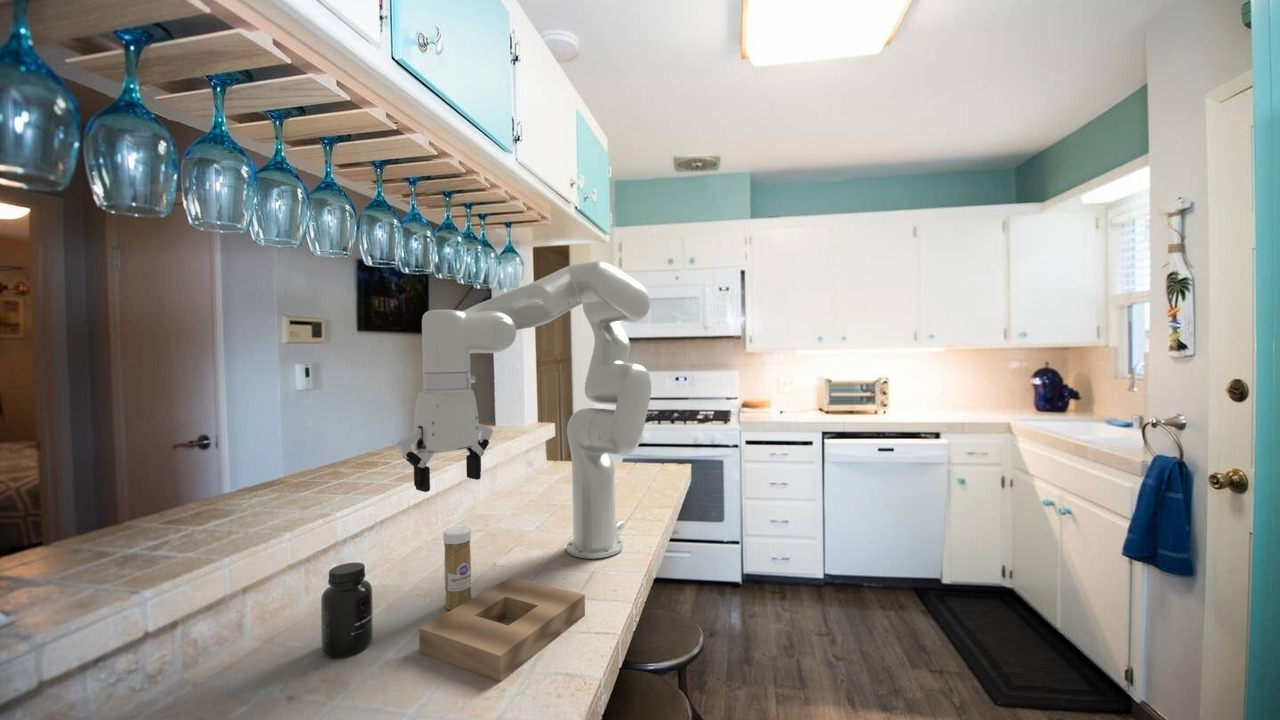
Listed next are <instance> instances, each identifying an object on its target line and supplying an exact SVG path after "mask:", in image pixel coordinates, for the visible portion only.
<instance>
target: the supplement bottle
mask: <svg viewBox="0 0 1280 720" xmlns="http://www.w3.org/2000/svg"><path fill="white" fill-rule="evenodd" d="M365 571H366V570H365V564H364V563H362V562H348V563H341V564H339V565H336V566H334V567H331V569H329V571H328V580H327V584H328V585H329V586H328V587H326V588H325V590H324V591H323V593H322V594H321V599H320V600H321V601H320V610H321V611H320V612H321V617H320V618H321V619H320V620H321V622H320V623H321V627H320V628H321V631H320V633H321V651H322V654H323V655H324V656H326V657H328V658H332V659H339V658H346V657H351V656H353V655H356V654H358V653H360V652H362V651H364V650H365V649H367V648H368V647H369V646H370V645H371V643H372V642H373V634H374V633H373V632H374V631H373V630H374V629H373V626H374V625H373V623H374V621H373V619H374V617H373V614H374V613H373V585H372V584H371V582H369V581H368V580H366V579H365V578H366V572H365Z"/></svg>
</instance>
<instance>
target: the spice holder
mask: <svg viewBox="0 0 1280 720" xmlns="http://www.w3.org/2000/svg"><path fill="white" fill-rule="evenodd" d="M585 595H586V594H584V593H580V592H576V591H573V590H572V591H571V590H567V589H564V588H560V587H556V586H552V585H547V584H543V583H539V582H535V581H531V580H527V579H524V578H518V577H514V576H510V577H508V578H507V579H505V580H503V581H502V582H499V583H498V584H496V585H494V586H492V587H491V588H489V589H487V590H485V591H484V592H482V593H480V594H478V595H476V596H475V597H473V598H471V600H469V601H467V602H465V603H464V604H462V605H460V606H458V607H456V608H454V609H453V610H449V611H448V612H446V613H444V614H442V615H440V616H438V617H437V618H435V619H433V620H432V621H429V622H427V623H426V624H423V625H422V626H420V627H419V628H418V632H419V635H418V637H419V652H420V653H422V652H423V654H425V653H426V654H425V655H427V656H431V657H433V658H436V659H438V658H439V660H442V661H445V662H446V663H449V664H452V665H455V666H457V667H460V668H463V669H465V670H468V671H471V672H474V673H476V674H479V675H482V676H484V677H487V678H490V679H493V680H494V681H498V682H502V681H504V680H506V678H507V677H508V676H510V675H511V674H512V673H513V672H515V671H516V670H518V669H519V668H520V667H522V666H523V665H524V664H525V663H526V662H528V661H529V660H531V658H533V657H534V656H535V655H536V654H538V653H539V652H540V651H541V650H543V649H545V647H547V646H548V645H549V644H551V643H552V642H553V641H555V640H556V639H557V638H558V637H559V636H561V635H562V634H563V633H565V632H566V631H567V630H569V628H571V627H572V626H573V625H574V624H576V623H577V622H578V621H580V620H581V619H582V618H584V617H585V616H586V600H585V599H586V597H585ZM504 619H510V620H514V621H513V622H511V623H510V624H509V625H507V624H504V623H501V622H502V621H503V620H504Z"/></svg>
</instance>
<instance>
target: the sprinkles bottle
mask: <svg viewBox="0 0 1280 720" xmlns="http://www.w3.org/2000/svg"><path fill="white" fill-rule="evenodd" d="M442 537H443V544H444V561H443V564H444V589H445V590H444V591H445V605H444V606H445V609H446V610H449V611H451V610H453V609H454V608H456V607H458V606H460V605H462V604H464V603H465V602H467V601H469V600H471V599H472V567H471V566H472V565H471V539H472V529H471V527H469V526H464V525H457V526H452V527H449V528H447V529H445V530H444V531H443V536H442Z"/></svg>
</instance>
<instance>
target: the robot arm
mask: <svg viewBox="0 0 1280 720" xmlns="http://www.w3.org/2000/svg"><path fill="white" fill-rule="evenodd" d="M580 305H582V310H583V313H584V315H585V317H586V319H587V321H588V323H589V325H590V326H591V330H592V333H593V337H594V344H593V345H594V346H593V351H592V355H591V359H590V363H589V366H588V370H587V374H586V377H585V383H584V393H585V396H586V398H587V399H588V400H589V401H590V402H593V403H595V404H600V405H608V406H615V408H614V409H608V408H599V407H598V408H597V407H595V408H594V407H586V408H582V409H579V410H576V411H575V412H574V413H573V414H571V416H570V418H569V419H568V422H567V425H566V435H567V441H568V446H569V451H570V456H571V469H572V470H571V471H572V475H571V476H572V477H571V478H572V518H573V519H572V527H573V530H572V531H573V534H572V535H573V538H572V539H571V540H569V541H568V542H567V544H566V551H567V553H568V554H569V555H570V556H573V557H575V558H580V559H587V560H588V559H589V560H592V559H593V560H595V559H603V558H608V557H613V556H615V555H617V554H618V553H620V552H622V550H623V548H624V542H623V540H622V539H621V538H620V537H618V536H617V533H618V531H620V530H621V529H623V528H624V526H625V525H624V522H623V521H622V520H617V519H616V481H615V480H616V471H615V465H614V461H613V459H612V457H611V455H619V456H620V455H621V456H626V455H627V456H628V455H630V454H631V453H634V451H636V450H637V448H638V447H639V445H640V443H641V439H642V437H643V434H644V433H643V432H644V427H645V425H646V424H645V423H646V418H647V414H648V410H649V407H650V406H649V405H650V400H651V396H652V381H651V380H652V379H651V376H650V373H649V371H648V370H647V368H645V367H644V366H643V365H641V364H638V363H633V362H629V357H630V352H631V343H630V338H629V337H628V334H627V332H626V331H625V329H624V328H623V326H622V324H621V323H626V322H628V323H629V322H637V321H640V320H642V319H643V318H645V317H646V316H647V315H648V313H649V310H650V306H651V299H650V295H649V293H648V292H647V289H646V288H645V286H643V285H642V284H641V283H639V282H638V281H637V280H635V279H634V278H632V277H631V276H629V275H628V274H626V273H625V272H623V271H622V270H620V269H619V268H617V267H616V266H613V265H611V264H610V263H607V262H605V261H600V260H598V261H597V260H595V261H591V262H590V261H589V262H583V263H576V264H572V265H568V266H566V267H563V268H561V269H558V270H557V271H554V272H553V273H550V274H547V275H546V276H544V277H542V278H539V279H538V280H535V281H533V282H531V283H529V284H526V285H524V286H520V287H518V288H515V289H513V290H511V291H508V292H506V293H503V294H500V295H498V296H495V297H492V298H490V299H487V300H485V301H482V302H479V303H477V304H475V305H473V306H471V307H468V308H466V309H464V310H456V309H433V310H428V311H426V312H424V314H423V315H422V319H421V336H422V337H421V341H422V342H421V343H422V345H421V347H422V381H423V382H422V383H423V385H422V386H423V390H422V391H423V392H418V394H417V399H416V403H415V408H414V417H413V431H411V432H410V433H409V434H407V435H406V436H404V437H403V438H401V439H400V440H399V441H398V442H397V443H396V446H397V448H398V449H399V451H400V453H401V454H402V457H403V459H405V460H406V461H407V462H408V463H409V464H410V466H412V467H413V484H414V486H415V490H416V491H420V492H422V493H423V492H424V493H427V492H429V491H430V490H431V469H430V466H427V465H428V463H429V461H430V460H431V459H432V457H433V456H434V455H435V454H440V453H447V452H453V451H460V450H464V449H465V450H466V451H467V452H468V454H467V455H466V457H465V459H466V463H465V464H466V465H465V467H466V478H467V479H471V480H476V481H478V480H481V477H482V476H481V475H482V474H481V473H482V457H483V456H484V454H485V450H486V449H487V447H488V446H489V444H490V439H491V437H492V434H493V431H494V430H493V429H492V427H491V428H490V427H488V426H487V425H484V424H482V423H480V422H479V420H480V419H479V413H478V411H479V410H478V406H477V400H476V395H475V391H474V390H473V389H471V388H472V387H471V386H472V384H474V383H476V376H475V375H471V373H472V372H471V354H496V353H502V352H503V351H505V350H507V349H509V348H510V347H511V346H512V345H513V343H514V341H516V336H517V331H519V330H526V329H530V328H535V327H539V326H543V325H546V324H548V323H550V322H553V321H554V320H556V319H557V318H559V317H561V316H563V315H565V314H566V313H568V312H569V311H572V310H573V309H574V308H576V307H579V306H580ZM412 445H413V448H414V450H415V451H416V452H413V449H412ZM610 454H611V455H610ZM616 520H617V521H616Z"/></svg>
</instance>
